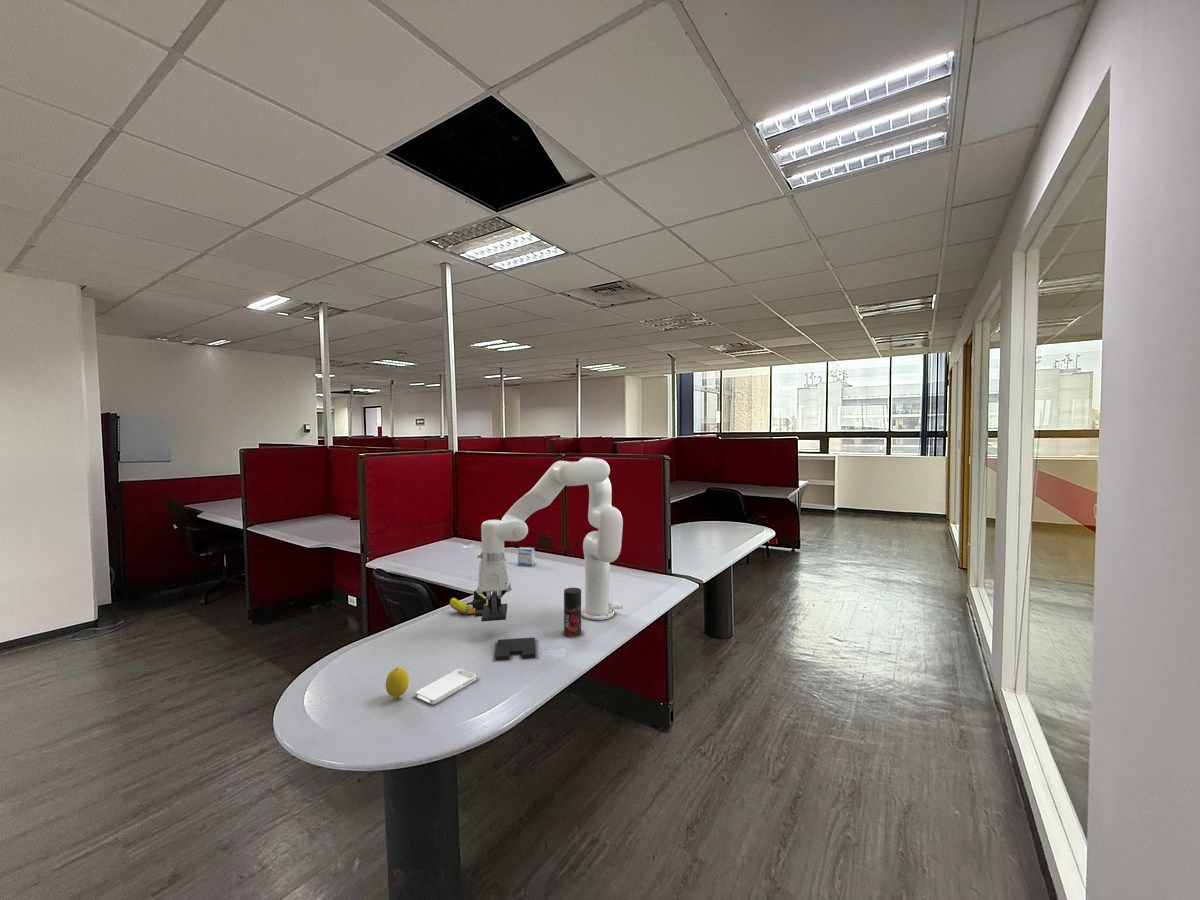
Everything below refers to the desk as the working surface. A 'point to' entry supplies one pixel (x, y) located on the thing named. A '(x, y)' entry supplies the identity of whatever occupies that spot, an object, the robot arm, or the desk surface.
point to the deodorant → (572, 612)
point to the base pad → (515, 648)
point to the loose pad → (492, 616)
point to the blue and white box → (526, 556)
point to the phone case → (445, 686)
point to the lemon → (397, 682)
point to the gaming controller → (470, 604)
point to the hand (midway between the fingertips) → (494, 608)
